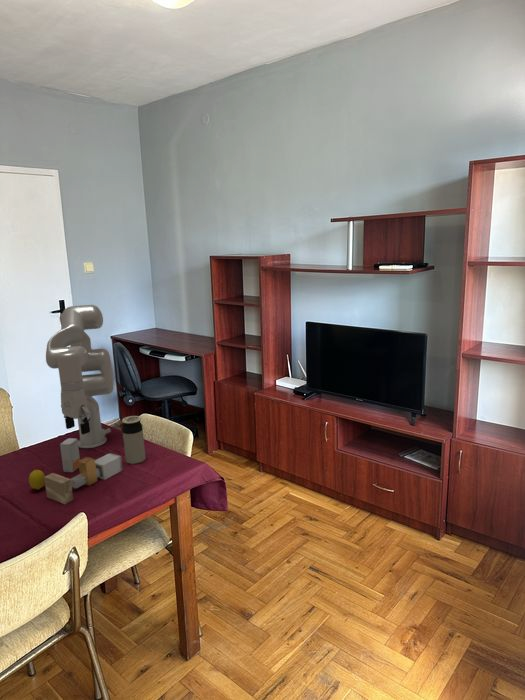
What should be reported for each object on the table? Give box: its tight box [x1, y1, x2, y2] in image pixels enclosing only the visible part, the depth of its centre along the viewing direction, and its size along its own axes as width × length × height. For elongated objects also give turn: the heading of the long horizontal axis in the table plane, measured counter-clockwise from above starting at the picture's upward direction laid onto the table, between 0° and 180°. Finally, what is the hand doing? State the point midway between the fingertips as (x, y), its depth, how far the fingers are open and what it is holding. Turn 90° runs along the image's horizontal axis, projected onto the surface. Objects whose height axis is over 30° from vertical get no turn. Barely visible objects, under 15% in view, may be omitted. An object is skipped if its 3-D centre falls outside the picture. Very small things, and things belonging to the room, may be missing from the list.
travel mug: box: [121, 415, 146, 465], centre depth 203 cm, size 8×8×18 cm
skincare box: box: [59, 437, 81, 473], centre depth 199 cm, size 6×4×12 cm
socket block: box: [44, 472, 74, 505], centre depth 176 cm, size 4×10×8 cm, turn 57°
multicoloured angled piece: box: [69, 456, 102, 489], centre depth 189 cm, size 19×4×9 cm, turn 147°
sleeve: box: [95, 452, 124, 481], centre depth 194 cm, size 9×6×6 cm
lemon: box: [28, 469, 46, 490], centre depth 184 cm, size 6×6×8 cm
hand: (78, 430), depth 181 cm, fingers open, 9 cm apart
